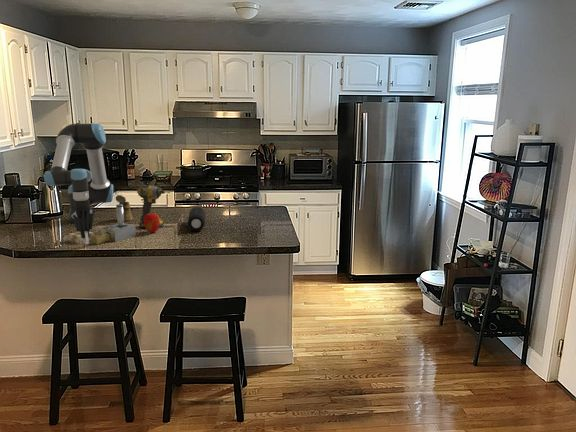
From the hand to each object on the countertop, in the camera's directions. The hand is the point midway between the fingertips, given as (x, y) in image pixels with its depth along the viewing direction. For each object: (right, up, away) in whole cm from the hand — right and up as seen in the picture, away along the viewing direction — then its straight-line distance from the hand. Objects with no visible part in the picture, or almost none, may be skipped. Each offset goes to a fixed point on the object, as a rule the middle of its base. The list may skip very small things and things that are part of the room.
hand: (86, 243), depth 249 cm
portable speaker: (+51, +8, +40) cm, 65 cm away
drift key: (+5, +1, +9) cm, 10 cm away
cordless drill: (+26, +8, +39) cm, 47 cm away
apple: (+27, +5, +28) cm, 39 cm away
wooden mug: (+2, +11, +53) cm, 54 cm away
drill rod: (+12, +3, +19) cm, 23 cm away
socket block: (+11, +3, +18) cm, 21 cm away
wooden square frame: (-7, +1, +12) cm, 14 cm away
